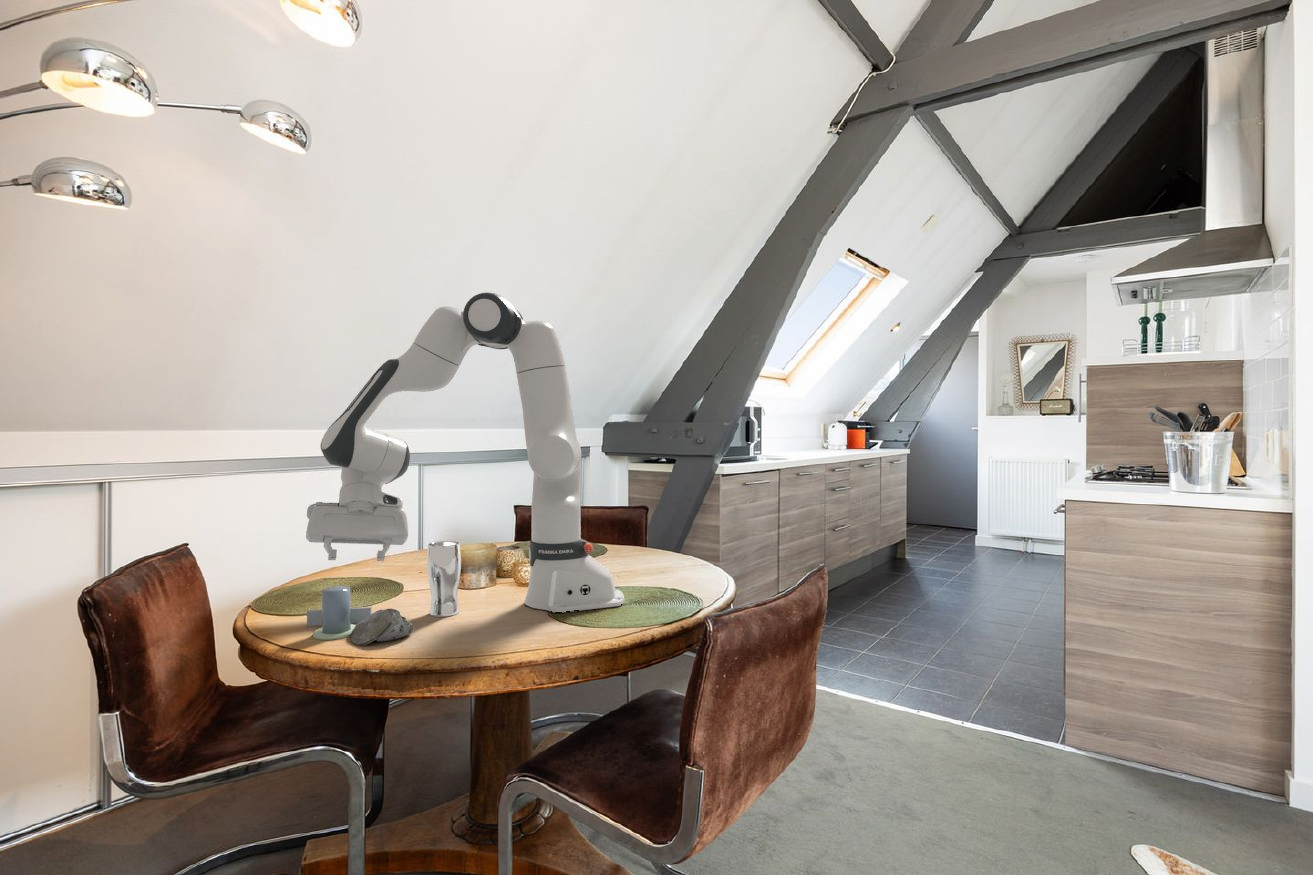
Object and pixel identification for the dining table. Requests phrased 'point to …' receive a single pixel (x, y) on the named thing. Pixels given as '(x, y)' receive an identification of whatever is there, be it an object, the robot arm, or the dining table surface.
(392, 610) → the fossilized seashell
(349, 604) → the blue-grey cylinder
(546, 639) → the dining table surface
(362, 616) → the wall
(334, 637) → the coaster
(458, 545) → the beer glass
